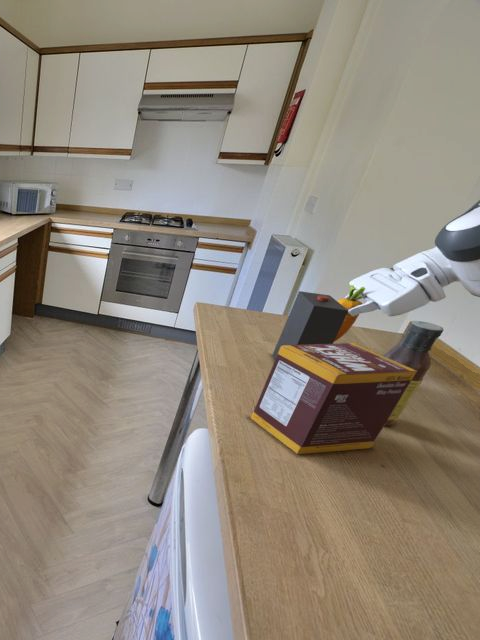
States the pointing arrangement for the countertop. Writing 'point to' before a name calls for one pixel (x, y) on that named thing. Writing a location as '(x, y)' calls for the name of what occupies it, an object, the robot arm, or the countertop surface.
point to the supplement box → (330, 396)
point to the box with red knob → (312, 321)
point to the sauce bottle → (413, 358)
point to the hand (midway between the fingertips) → (344, 309)
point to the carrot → (348, 304)
